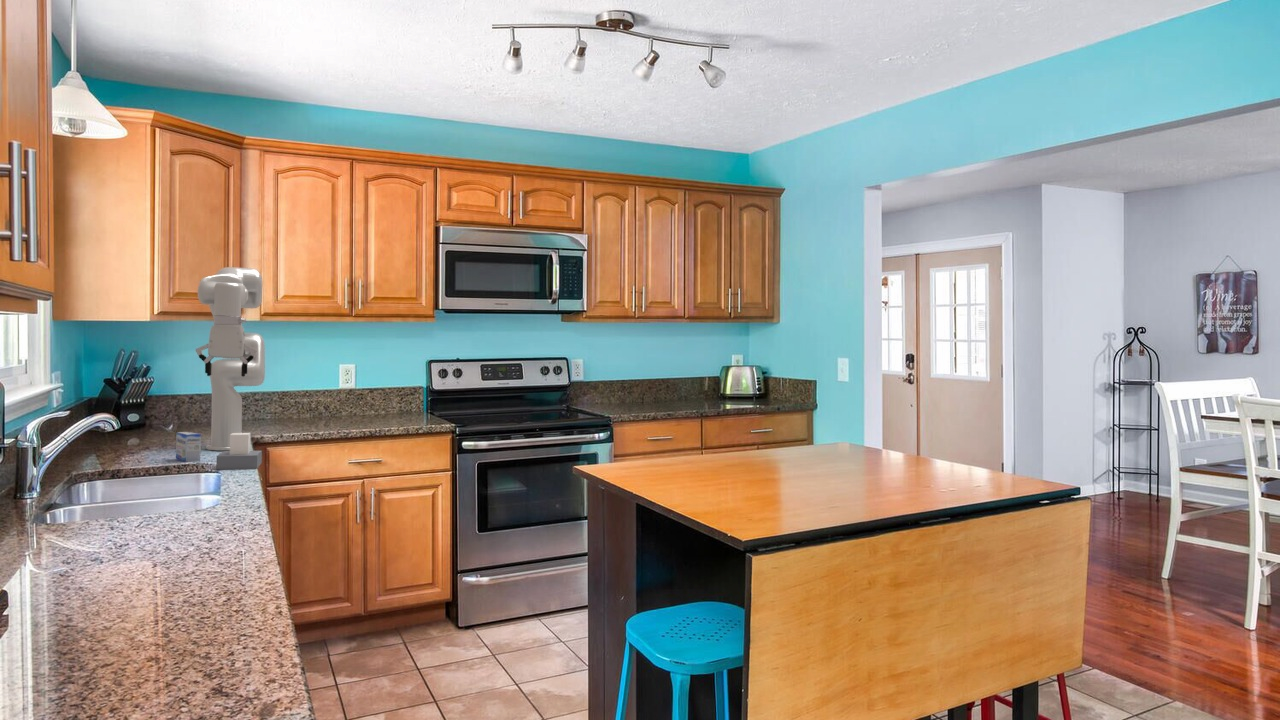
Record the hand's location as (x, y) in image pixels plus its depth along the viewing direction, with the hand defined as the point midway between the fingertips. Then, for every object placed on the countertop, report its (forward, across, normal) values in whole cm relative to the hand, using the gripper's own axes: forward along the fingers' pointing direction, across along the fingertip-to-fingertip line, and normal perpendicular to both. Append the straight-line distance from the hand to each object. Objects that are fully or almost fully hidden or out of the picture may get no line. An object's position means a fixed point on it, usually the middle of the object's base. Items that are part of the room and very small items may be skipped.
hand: (226, 376), depth 248 cm
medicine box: (+28, +11, -6) cm, 31 cm away
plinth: (+27, -6, +10) cm, 29 cm away
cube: (+23, -6, +10) cm, 26 cm away
